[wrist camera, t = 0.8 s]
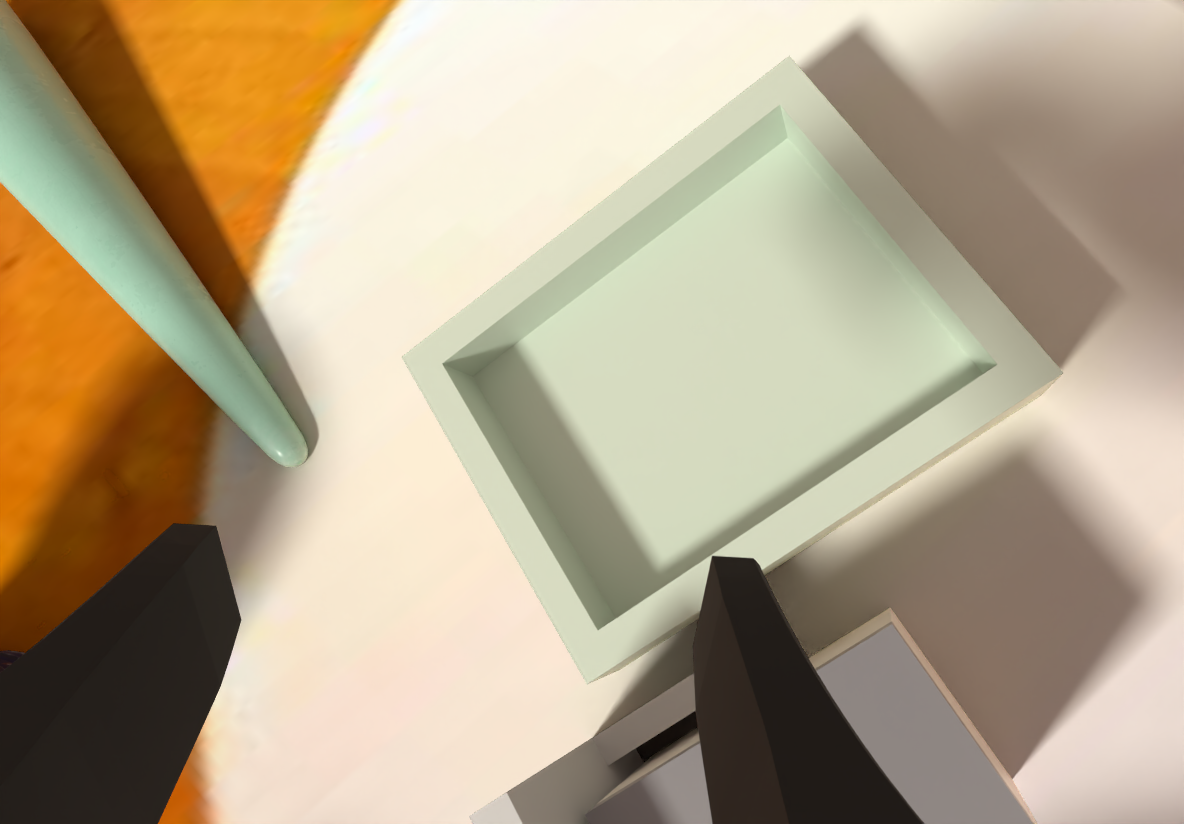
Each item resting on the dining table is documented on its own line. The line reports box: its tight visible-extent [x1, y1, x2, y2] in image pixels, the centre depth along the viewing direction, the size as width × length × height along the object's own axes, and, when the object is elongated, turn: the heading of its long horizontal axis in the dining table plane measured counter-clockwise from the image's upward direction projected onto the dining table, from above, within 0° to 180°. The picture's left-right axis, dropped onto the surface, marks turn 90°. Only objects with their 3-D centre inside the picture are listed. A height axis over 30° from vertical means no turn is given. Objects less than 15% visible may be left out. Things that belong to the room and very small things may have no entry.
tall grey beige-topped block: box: [585, 608, 1037, 824], centre depth 20 cm, size 5×8×6 cm, turn 123°
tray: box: [402, 56, 1063, 684], centre depth 24 cm, size 11×14×3 cm
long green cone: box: [0, 0, 308, 467], centre depth 32 cm, size 5×6×27 cm
